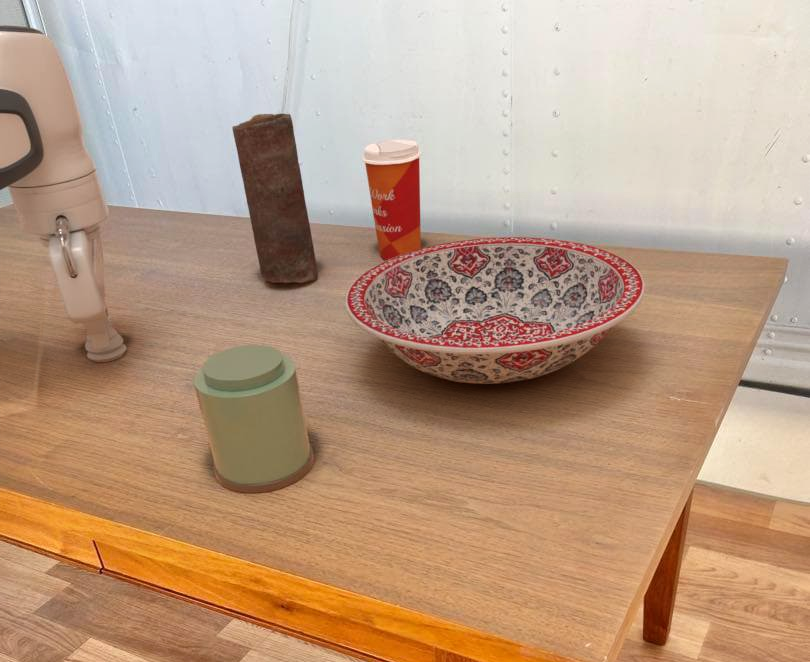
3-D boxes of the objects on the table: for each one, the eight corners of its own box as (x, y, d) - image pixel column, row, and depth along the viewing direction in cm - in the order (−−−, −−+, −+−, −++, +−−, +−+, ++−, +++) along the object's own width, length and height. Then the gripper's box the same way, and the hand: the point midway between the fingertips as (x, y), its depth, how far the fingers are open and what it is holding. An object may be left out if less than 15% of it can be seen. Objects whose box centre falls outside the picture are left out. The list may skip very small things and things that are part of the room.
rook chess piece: (98, 347, 99) (76, 280, 95) (133, 346, 99) (113, 279, 94) (81, 364, 96) (58, 295, 91) (118, 363, 95) (96, 294, 90)
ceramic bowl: (306, 411, 82) (293, 333, 78) (413, 298, 103) (408, 231, 99) (607, 448, 72) (613, 362, 68) (658, 315, 94) (665, 242, 89)
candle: (282, 296, 108) (251, 125, 96) (250, 283, 112) (218, 119, 100) (329, 278, 112) (306, 111, 99) (297, 266, 116) (271, 106, 104)
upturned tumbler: (221, 502, 71) (194, 395, 65) (209, 452, 78) (183, 351, 72) (323, 478, 72) (305, 372, 66) (303, 431, 79) (285, 331, 73)
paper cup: (364, 252, 118) (352, 145, 110) (414, 241, 120) (406, 135, 112) (385, 268, 113) (374, 156, 104) (437, 256, 115) (431, 145, 106)
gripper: (92, 227, 80) (134, 361, 88) (92, 178, 96) (127, 296, 104) (23, 238, 79) (72, 374, 87) (34, 187, 94) (74, 306, 103)
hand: (102, 331), depth 96 cm, fingers open, 7 cm apart
